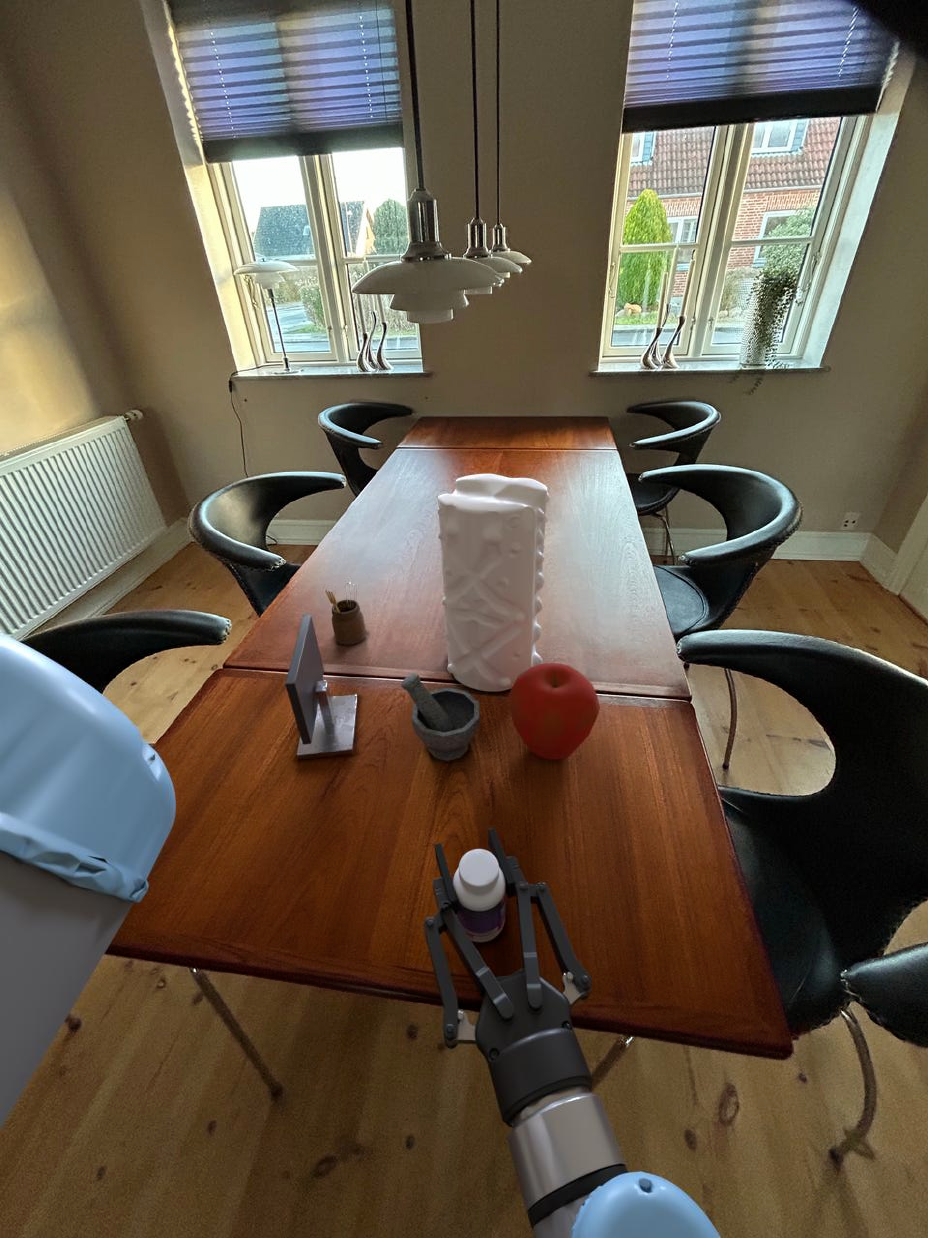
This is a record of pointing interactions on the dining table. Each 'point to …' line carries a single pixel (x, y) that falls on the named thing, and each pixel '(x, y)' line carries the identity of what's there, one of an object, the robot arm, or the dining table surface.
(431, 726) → the mortar and pestle
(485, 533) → the vase
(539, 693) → the apple
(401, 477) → the dining table surface
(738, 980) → the dining table surface
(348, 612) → the utensil holder
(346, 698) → the monitor stand
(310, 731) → the monitor screen
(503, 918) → the pill bottle
